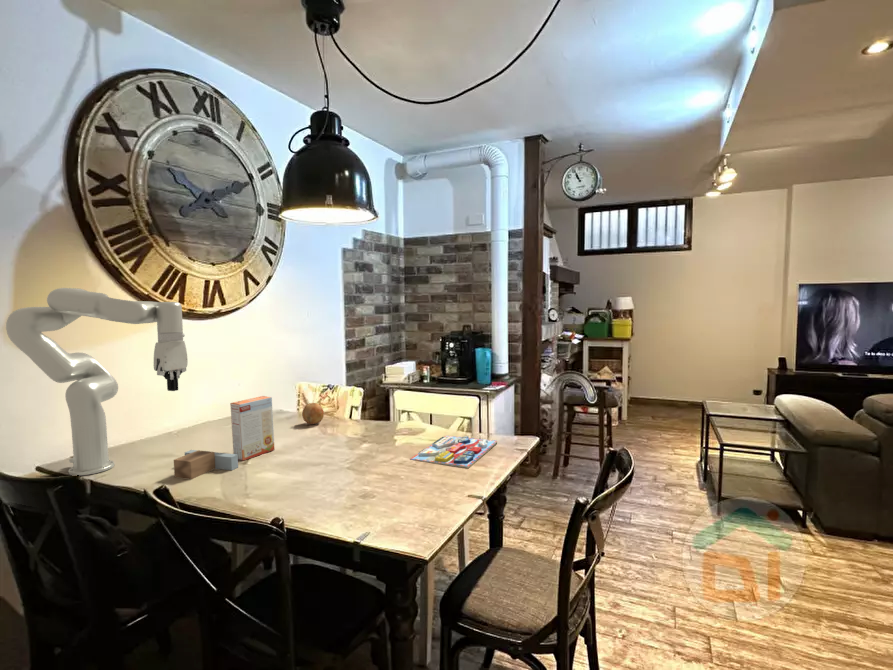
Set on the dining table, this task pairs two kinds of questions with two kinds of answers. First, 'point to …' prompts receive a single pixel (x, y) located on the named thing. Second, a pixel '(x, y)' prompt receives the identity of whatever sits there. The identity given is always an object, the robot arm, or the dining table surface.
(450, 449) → the puzzle board
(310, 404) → the onion
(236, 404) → the cracker box
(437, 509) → the dining table surface
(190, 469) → the walnut block
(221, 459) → the batten
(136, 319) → the robot arm
